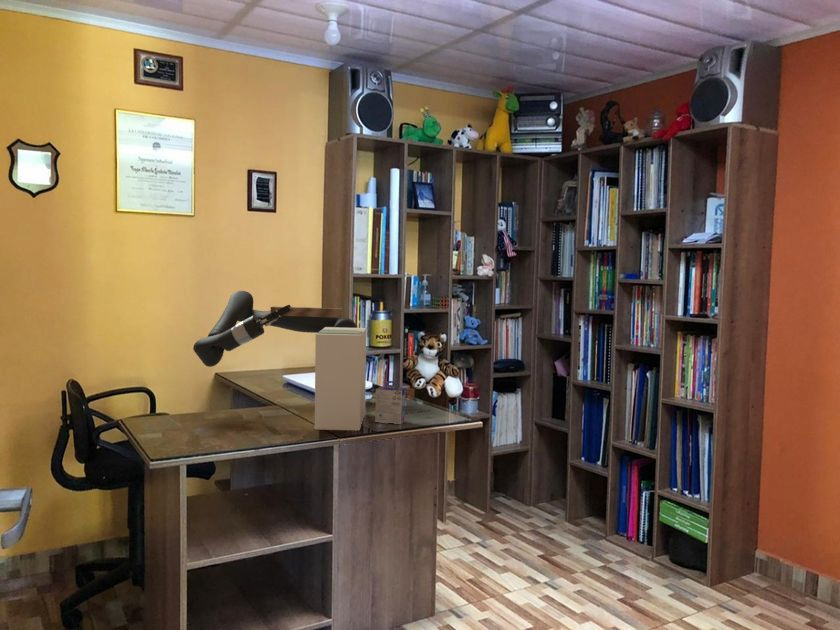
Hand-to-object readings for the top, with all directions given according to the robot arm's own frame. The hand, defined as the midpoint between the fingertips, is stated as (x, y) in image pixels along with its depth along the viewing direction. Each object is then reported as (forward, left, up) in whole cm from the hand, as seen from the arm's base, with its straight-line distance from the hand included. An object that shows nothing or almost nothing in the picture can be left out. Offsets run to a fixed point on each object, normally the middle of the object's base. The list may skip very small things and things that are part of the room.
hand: (289, 307), depth 248 cm
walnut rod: (+4, +4, -3) cm, 7 cm away
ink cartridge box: (+30, +22, -40) cm, 54 cm away
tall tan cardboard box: (+18, +10, -39) cm, 44 cm away
